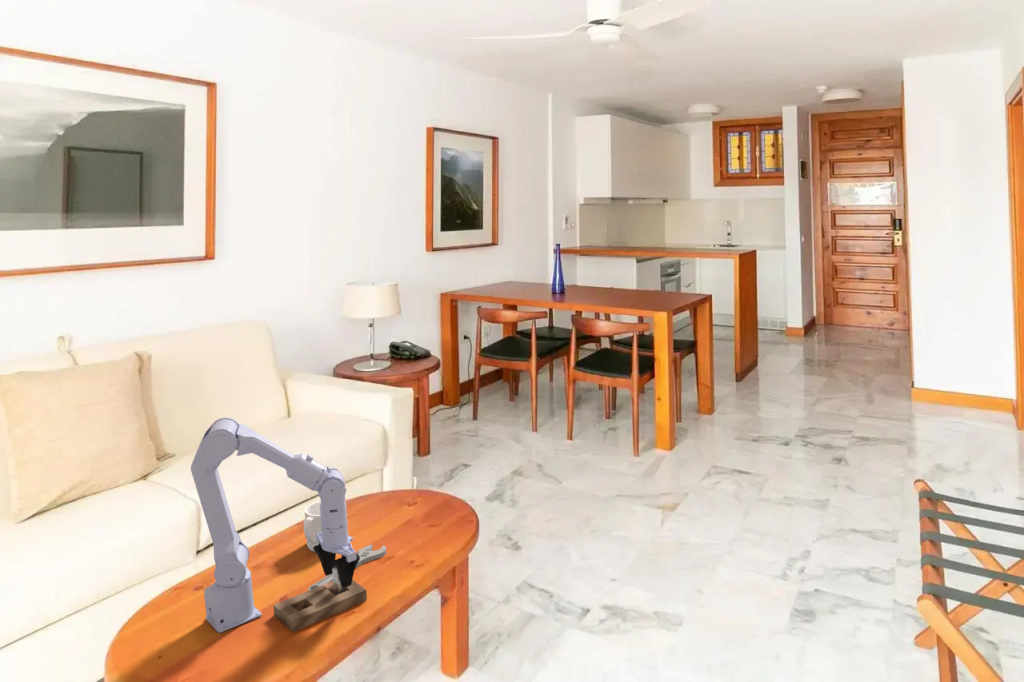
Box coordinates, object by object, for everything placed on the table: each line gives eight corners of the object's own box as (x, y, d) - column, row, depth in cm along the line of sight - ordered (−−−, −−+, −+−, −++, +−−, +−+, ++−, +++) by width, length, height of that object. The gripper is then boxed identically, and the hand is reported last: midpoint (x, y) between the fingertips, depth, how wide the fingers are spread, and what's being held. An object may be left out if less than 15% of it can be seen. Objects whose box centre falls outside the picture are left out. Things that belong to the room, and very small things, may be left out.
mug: (323, 533, 193) (321, 498, 192) (353, 539, 189) (351, 503, 188) (292, 553, 182) (289, 516, 180) (323, 560, 178) (320, 522, 176)
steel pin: (337, 603, 158) (335, 570, 156) (332, 599, 159) (330, 567, 158) (346, 599, 159) (344, 567, 158) (341, 596, 161) (339, 564, 159)
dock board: (292, 632, 147) (292, 620, 146) (274, 615, 153) (273, 604, 153) (366, 599, 159) (366, 588, 159) (346, 585, 165) (346, 574, 165)
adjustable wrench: (314, 598, 161) (313, 591, 161) (296, 590, 165) (295, 583, 164) (390, 553, 181) (389, 547, 181) (372, 547, 185) (372, 541, 185)
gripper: (367, 528, 153) (370, 585, 156) (334, 509, 164) (337, 562, 166) (338, 538, 149) (342, 597, 151) (306, 518, 159) (310, 573, 162)
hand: (338, 579), depth 158 cm, fingers open, 7 cm apart
